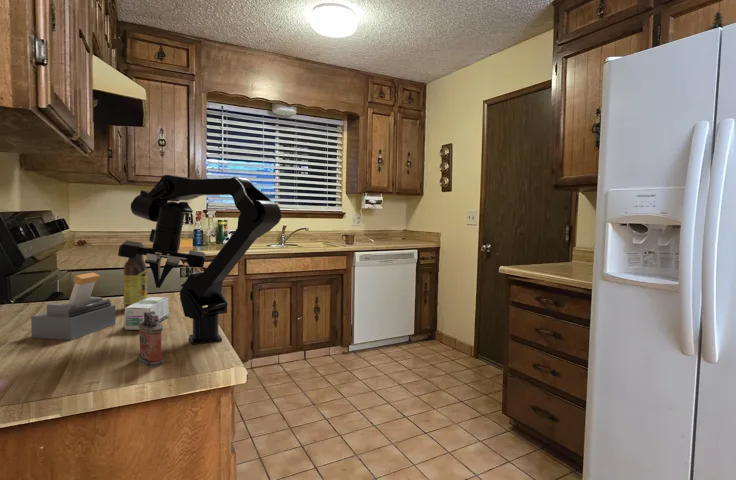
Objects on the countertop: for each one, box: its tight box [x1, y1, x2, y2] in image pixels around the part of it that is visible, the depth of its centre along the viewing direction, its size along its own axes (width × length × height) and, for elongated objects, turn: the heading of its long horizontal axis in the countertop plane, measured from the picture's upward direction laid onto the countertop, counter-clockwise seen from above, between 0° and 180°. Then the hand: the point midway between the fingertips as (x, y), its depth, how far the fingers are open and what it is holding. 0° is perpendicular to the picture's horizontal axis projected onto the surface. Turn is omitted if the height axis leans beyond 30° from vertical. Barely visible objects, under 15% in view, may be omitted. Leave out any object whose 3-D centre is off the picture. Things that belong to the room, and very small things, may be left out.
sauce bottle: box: [123, 243, 148, 309], centre depth 124 cm, size 7×6×20 cm
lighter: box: [138, 311, 163, 368], centre depth 82 cm, size 8×3×10 cm, turn 45°
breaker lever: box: [67, 272, 101, 308], centre depth 100 cm, size 2×6×9 cm, turn 174°
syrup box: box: [124, 296, 170, 331], centre depth 109 cm, size 6×6×14 cm
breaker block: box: [30, 296, 116, 341], centre depth 100 cm, size 10×14×7 cm
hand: (158, 287), depth 101 cm, fingers closed
